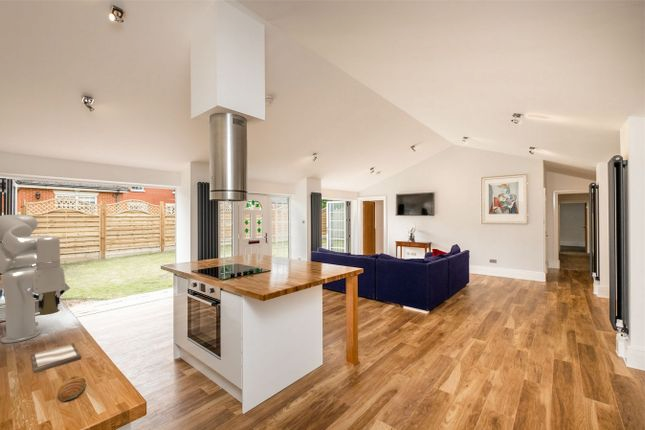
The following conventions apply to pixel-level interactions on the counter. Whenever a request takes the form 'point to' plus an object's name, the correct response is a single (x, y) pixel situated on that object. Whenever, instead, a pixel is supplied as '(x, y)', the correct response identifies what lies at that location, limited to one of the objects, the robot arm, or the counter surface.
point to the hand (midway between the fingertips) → (49, 307)
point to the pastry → (71, 388)
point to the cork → (49, 304)
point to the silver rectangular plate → (54, 357)
